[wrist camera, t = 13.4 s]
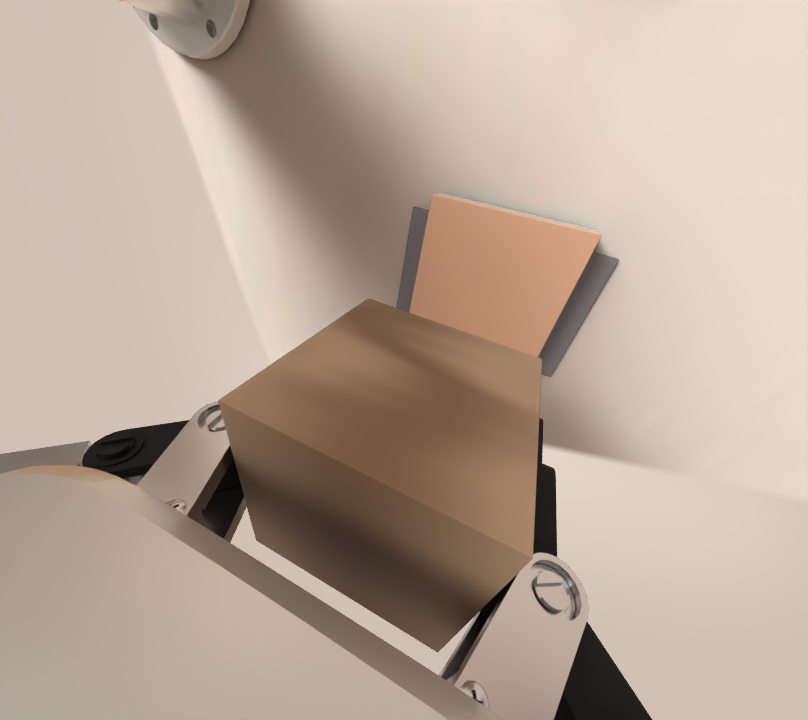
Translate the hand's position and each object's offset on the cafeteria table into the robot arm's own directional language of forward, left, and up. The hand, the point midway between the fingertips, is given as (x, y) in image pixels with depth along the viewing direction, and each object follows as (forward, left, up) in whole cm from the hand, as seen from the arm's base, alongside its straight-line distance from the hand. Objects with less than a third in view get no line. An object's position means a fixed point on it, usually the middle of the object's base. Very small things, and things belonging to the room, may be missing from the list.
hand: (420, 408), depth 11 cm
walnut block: (0, 0, -1) cm, 1 cm away
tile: (0, +5, -14) cm, 15 cm away
